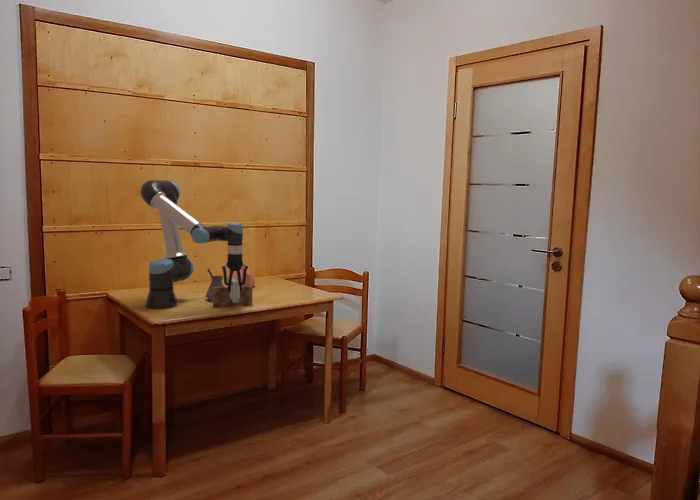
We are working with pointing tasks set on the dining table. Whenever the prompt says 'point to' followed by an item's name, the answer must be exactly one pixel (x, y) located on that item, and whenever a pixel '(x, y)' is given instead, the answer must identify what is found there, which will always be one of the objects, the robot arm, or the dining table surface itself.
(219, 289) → the walnut slotted plate
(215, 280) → the coffee pot
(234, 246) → the robot arm
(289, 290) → the dining table surface
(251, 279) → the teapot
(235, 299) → the green slotted plate
